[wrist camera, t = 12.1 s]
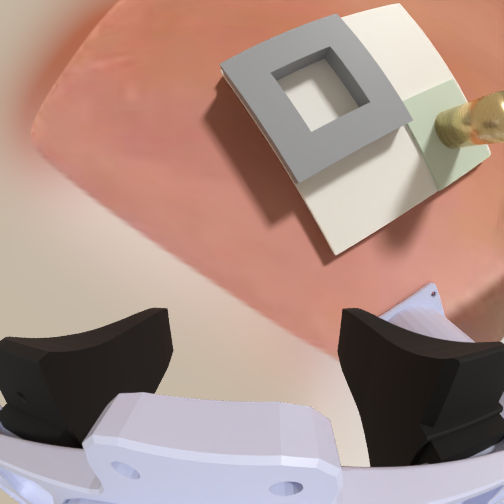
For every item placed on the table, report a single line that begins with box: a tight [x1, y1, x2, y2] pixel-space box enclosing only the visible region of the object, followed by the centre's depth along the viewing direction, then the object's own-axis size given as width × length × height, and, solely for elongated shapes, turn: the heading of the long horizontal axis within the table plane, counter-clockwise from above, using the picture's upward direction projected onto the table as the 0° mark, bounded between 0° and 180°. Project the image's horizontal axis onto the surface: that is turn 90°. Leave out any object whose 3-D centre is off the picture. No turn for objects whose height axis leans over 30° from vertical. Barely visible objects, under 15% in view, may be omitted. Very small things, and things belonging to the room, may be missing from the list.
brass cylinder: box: [435, 91, 504, 149], centre depth 13 cm, size 3×3×7 cm
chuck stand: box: [220, 3, 491, 255], centre depth 16 cm, size 15×17×3 cm
